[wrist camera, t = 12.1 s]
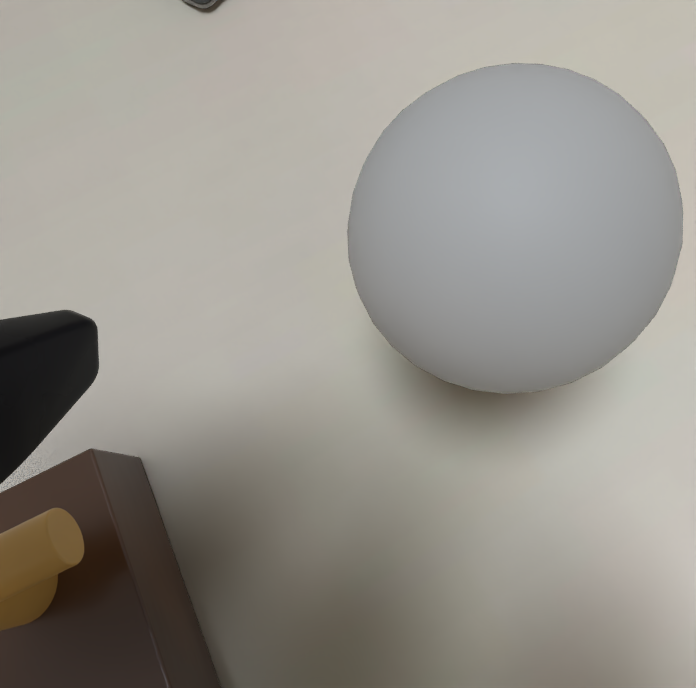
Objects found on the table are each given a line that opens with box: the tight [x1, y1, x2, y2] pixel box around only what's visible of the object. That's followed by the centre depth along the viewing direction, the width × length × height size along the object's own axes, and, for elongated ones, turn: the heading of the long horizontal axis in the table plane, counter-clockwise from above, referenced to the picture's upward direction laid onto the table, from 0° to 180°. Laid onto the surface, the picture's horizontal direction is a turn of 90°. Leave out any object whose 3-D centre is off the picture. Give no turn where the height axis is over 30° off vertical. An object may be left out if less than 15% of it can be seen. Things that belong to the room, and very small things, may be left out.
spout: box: [0, 508, 84, 631], centre depth 16 cm, size 2×4×3 cm, turn 115°
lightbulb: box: [347, 63, 683, 394], centre depth 15 cm, size 6×6×11 cm
